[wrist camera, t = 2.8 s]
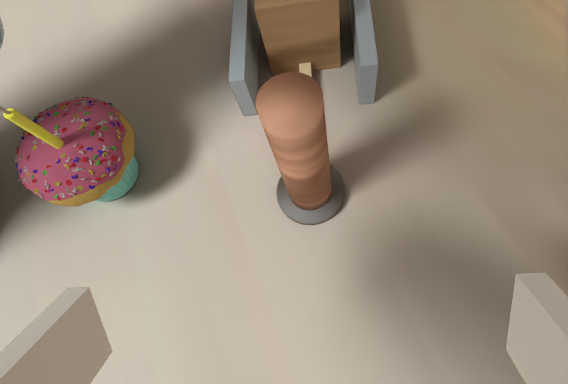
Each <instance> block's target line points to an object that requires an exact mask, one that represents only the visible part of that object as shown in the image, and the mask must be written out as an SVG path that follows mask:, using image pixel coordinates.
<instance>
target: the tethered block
mask: <svg viewBox="0 0 568 384" xmlns="http://www.w3.org/2000/svg"><path fill="white" fill-rule="evenodd" d="M254 10H255V13H256V17H257V21H258V24H259V28H260V32H261V35H262V39H263V43H264V46H265V50H266V53H267V57H268V61H269V64H270V68H271V72H272V75H276V74H279V75H276V76H274V77H272V78H271V79H269V80H268V81H267V82H265V83H264V84H263V86H262V87H261V88H260V90H259V91H258V94H257V97H256V110H257V112H258V115H259V118H260V120H261V123H262V126H263V128H264V131H265V133H266V136H267V139H268V141H269V144H270V147H271V149H272V152H273V155H274V157H275V160H276V162H277V165H278V168H279V170H280V173H281V178H280V180H279V183H278V186H277V198H278V202H279V205H280V207H281V209H282V210H283V212H284V213H285V214H286V215H287V216H288V217H289V218H290V219H291V220H293V221H295V222H297V223H300V224H305V225H316V224H320V223H323V222H326V221H327V220H329V219H331V218H332V217H333V216H334V215H335V214H336V213H337V212H338V211H339V209H340V208H341V206H342V204H343V200H344V183H343V180H342V178H341V176H340V174H339V173H338V171H337V170H336V169H335V168H333V167H332V166H331V165H330V164H329V154H328V144H327V134H326V124H325V114H324V103H323V94H322V90H321V87H320V85H319V84H318V82H317V81H316V80H315V79H313V78H312V70H320V69H329V68H338V67H341V60H340V20H339V0H255V7H254Z"/></svg>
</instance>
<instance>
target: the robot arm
mask: <svg viewBox="0 0 568 384" xmlns="http://www.w3.org/2000/svg"><path fill="white" fill-rule="evenodd" d="M3 38H4V30H3V25H2V21H1V18H0V48H1V46H2V43H3ZM506 350H507V352H508V354H509V356H510V357H511V359H512V361H513V363H514V364H515V366H516V368H517V370H518V371H519V373H520V375H521V377H522V378H523V380H524V382H525V384H568V296H567V295H566V294H565V293H564V292H563V291H562V290H561V289H560V288H559V287H558V285H557V284H556V283H555V282H554V281H553V280H552V279H551V278H550V277H549V276H548V275H547V274H546V273H519V274H516V277H515V284H514V291H513V299H512V306H511V314H510V321H509V329H508V336H507V344H506ZM111 353H112V349H111V346H110V343H109V341H108V338H107V335H106V333H105V330H104V327H103V324H102V322H101V319H100V316H99V313H98V311H97V308H96V305H95V302H94V300H93V297H92V294H91V291H90V289H89V287H79V288H67V289H66V290H65V291H64V292H63V293H62V294H61V295H60V296H59V297H58V298H57V299H56V300H55V301H54V302H53V303H52V304H51V305H50V306H48V307H47V308H46V309H45V310H44V311H43V312H42V313H41V314H40V315H39V316H38V317H37V318H36V319H35V320H34V321H33V322H32V323H31V324H30V325H29V326H28V327H27V328H26V329H24V330H23V331H22V332H21V333H20V334H19V335H18V336H17V337H16V338H15V339H14V340H13V341H12V342H11V343H10V344H9V345H8V346H7V347H6V348H5V349H4V350H3V351H2V352H0V384H90V383H91V382H92V380H93V379H94V377H95V376H96V374H97V373H98V371H99V370H100V368H101V367H102V366H103V364H104V363H105V361H106V360H107V358H108V357H109V355H110V354H111Z"/></svg>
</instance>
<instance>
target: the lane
mask: <svg viewBox="0 0 568 384" xmlns="http://www.w3.org/2000/svg"><path fill="white" fill-rule="evenodd" d="M348 2H349V12H350V21H351V31H352V40H353V50H354V60H355V69H356V79H357V88H358V98H359V104H369V103H374V100H375V91H376V81H377V72H378V58H377V51H376V44H375V36H374V29H373V22H372V14H371V7H370V0H348ZM254 7H255V0H233V14H232V30H231V46H230V62H229V78H228V82H229V84H230V86H231V89H232V91H233V93H234V95H235V98H236V100H237V102H238V104H239V107H240V109H241V111H242V113H243V116H247V115H257V110H256V97H257V94H258V68H259V24H258V21H257V17H256V13H255V10H254Z"/></svg>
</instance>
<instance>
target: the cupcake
mask: <svg viewBox="0 0 568 384" xmlns="http://www.w3.org/2000/svg"><path fill="white" fill-rule="evenodd" d="M76 98H77V99H76ZM76 98H74V100H69V101H65V102H62V103H59V104H57V105H54V106H52V107H49V108H48V109H46V110H45V111H44V112H41V113H39V115H38V116H36V117H37V118H36V117H35V118H34V120H33V121H31V120H30V119H28V118H27V117H25V116H24V115H22V114H21V113H19V112H17V111H16V110H14V109H12V108H8V109H4V108H3V107H1V106H0V111H2V112H4V114H3V115H4V117H5V118H6V119H8V120H10V121H11V122H13V123H15V124H16V125H18V126H20V127H21V128H23V129H25V132H24V133H23V137H21V139H22V140H21V141H19V147H17V155H16V157H15V162H16V163H17V164H16V168H18V170H19V175H20V178H21V180H19V181H22V183H23V185H24V187H25V188H26V189H29V190H31V191H32V192H33V193H34V194H36V195H37V196H39V197H40V198H42V199H44V200H46V201H48V202H51V203H53V204H57V205H62V206H80V205H83V204H85V203H88V202H91V201H95V200H96V201H104V202H106V201H112V200H116V199H118V198H120V197H122V196H123V195H125V194H126V193H127V192H128V191H129V190H130V189H131V188H132V186H133V185H134V183H135V181H136V179H137V176H138V163H137V160H136V158H135V156H134V131H133V129H132V127H131V125H130V124H129V122H128V121H127V120H126V119H125V118H124V117H123V115H122V114H121V113H120V111H119V110H118V109H117V108H115V107H114V106H113V105H112V104H111V103H106V102H103V101H100V100H97V99H93V98H89V97H82V98H78V97H76ZM17 159H18V160H17Z"/></svg>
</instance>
